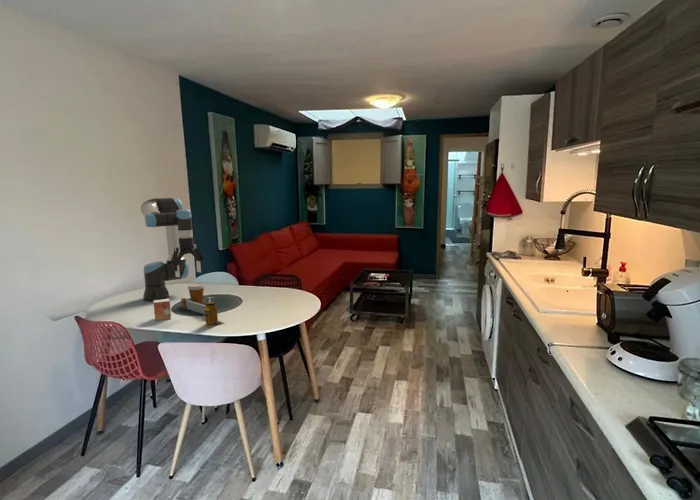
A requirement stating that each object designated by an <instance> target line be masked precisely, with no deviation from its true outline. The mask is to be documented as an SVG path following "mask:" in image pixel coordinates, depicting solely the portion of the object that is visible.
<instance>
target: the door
mask: <svg viewBox="0 0 700 500" xmlns="http://www.w3.org/2000/svg"><path fill="white" fill-rule="evenodd" d="M185 302H186V309H185V310H189V311H193V312H196V313H199V314H202V315H205V308H206V307H205V306H206V305H205V304H204V303H202V304H199V303H196V302H192V301H191V300H188V299H187V300H185Z"/></svg>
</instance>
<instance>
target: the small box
mask: <svg viewBox="0 0 700 500" xmlns="http://www.w3.org/2000/svg"><path fill="white" fill-rule="evenodd" d="M153 311H154V312H153V314H154V320H155V321H154V322H159V321H165V320H171V319H172V313H171V301H170V298H166V299H162V300H154V301H153Z"/></svg>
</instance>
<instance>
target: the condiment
mask: <svg viewBox="0 0 700 500" xmlns="http://www.w3.org/2000/svg"><path fill="white" fill-rule="evenodd" d="M204 305H206V306H205V307H206V308H205V314H204V315H205V323H203V324H202V325H203V326H206V327H208V328H213V327H217V326H219V325H222V324H224V322H223V321H220V320H219V317H218V316H219V315H218V307H217V302H216V301H206V302H205V304H204Z"/></svg>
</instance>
